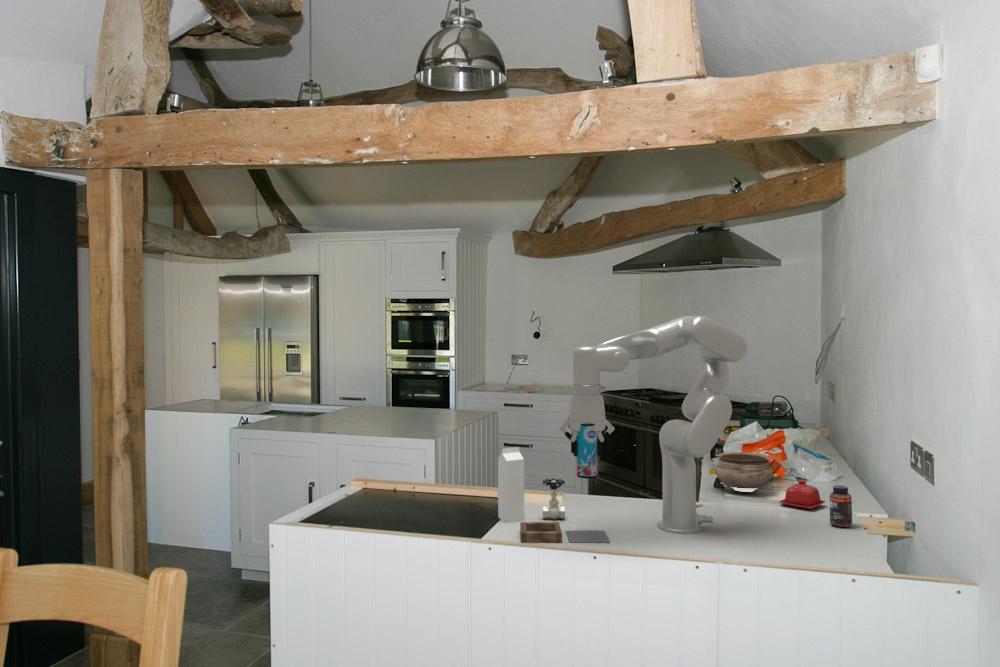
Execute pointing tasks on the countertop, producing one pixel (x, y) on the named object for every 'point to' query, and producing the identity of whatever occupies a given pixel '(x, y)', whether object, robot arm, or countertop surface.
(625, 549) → the countertop surface
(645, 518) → the countertop surface
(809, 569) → the countertop surface
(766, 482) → the cooking pot
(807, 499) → the butter dish
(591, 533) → the charcoal rubber mat
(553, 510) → the valve
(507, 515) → the milk
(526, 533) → the walnut socket block
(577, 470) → the beverage can
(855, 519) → the countertop surface
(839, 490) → the supplement bottle
